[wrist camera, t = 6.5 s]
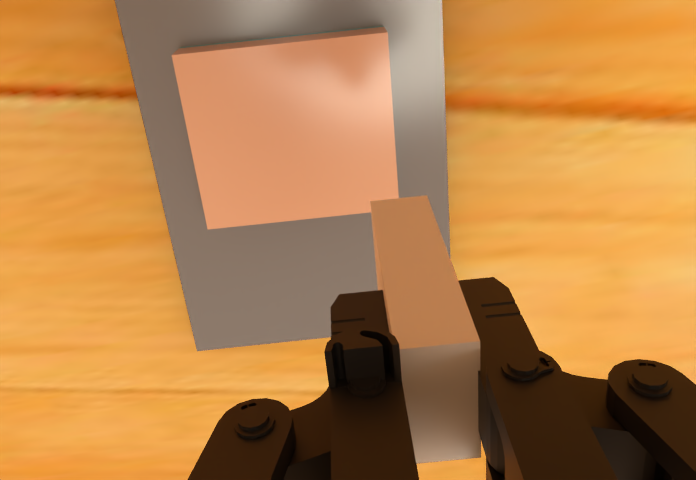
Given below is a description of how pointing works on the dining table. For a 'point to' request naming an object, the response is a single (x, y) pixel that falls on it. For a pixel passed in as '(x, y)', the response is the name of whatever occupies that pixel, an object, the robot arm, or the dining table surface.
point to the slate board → (289, 236)
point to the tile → (290, 125)
